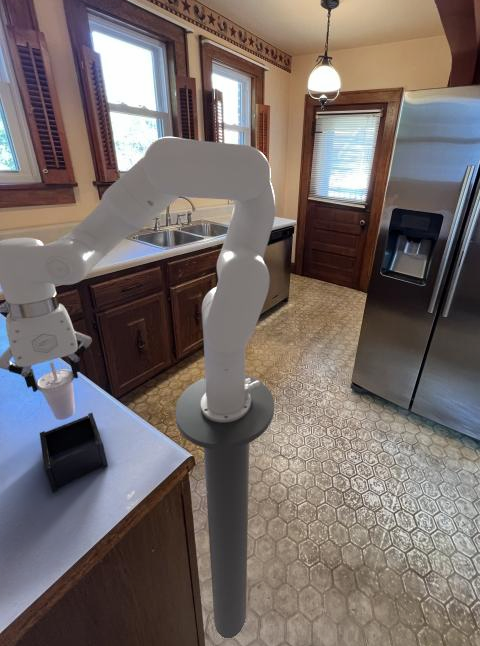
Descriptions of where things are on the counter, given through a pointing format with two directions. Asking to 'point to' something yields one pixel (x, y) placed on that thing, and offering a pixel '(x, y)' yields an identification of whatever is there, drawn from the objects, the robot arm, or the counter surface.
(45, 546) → the counter surface
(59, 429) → the bottle stand
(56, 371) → the smoothie
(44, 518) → the counter surface
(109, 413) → the counter surface
